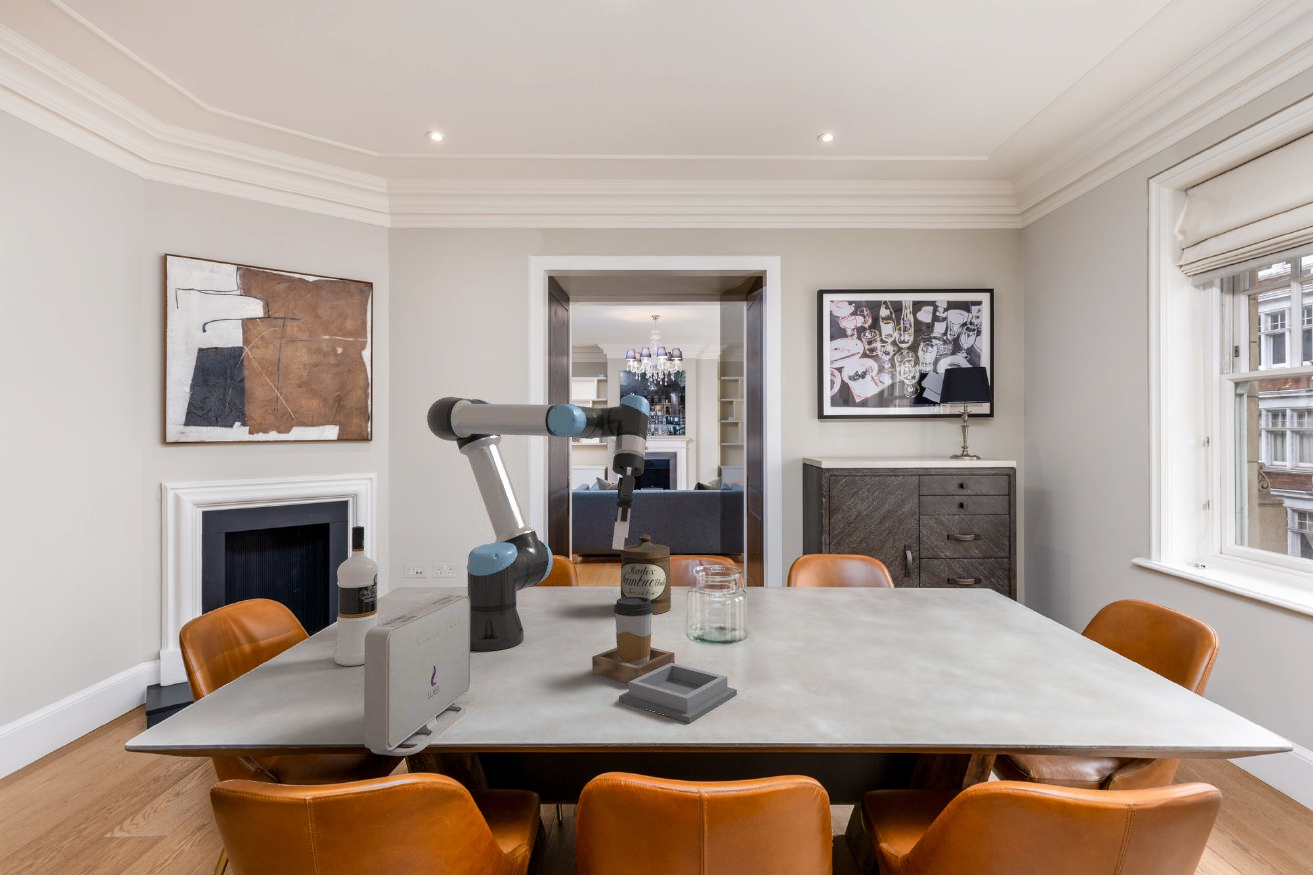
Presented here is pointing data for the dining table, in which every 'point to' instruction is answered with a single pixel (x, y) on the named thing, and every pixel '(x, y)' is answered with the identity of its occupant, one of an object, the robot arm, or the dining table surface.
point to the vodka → (355, 602)
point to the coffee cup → (633, 629)
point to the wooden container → (647, 573)
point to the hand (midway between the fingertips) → (619, 543)
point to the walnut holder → (629, 665)
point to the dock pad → (678, 692)
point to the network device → (416, 674)
